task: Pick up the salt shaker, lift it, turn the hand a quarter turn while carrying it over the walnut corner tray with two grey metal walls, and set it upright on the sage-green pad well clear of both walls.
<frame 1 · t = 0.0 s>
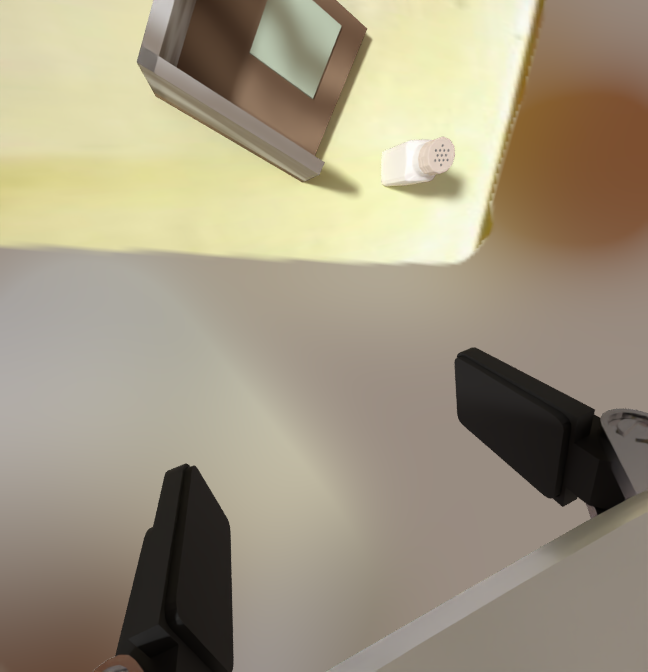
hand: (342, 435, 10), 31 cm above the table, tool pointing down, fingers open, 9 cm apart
salt shaker: (392, 168, 39), on the table
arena: (264, 63, 31), on the table
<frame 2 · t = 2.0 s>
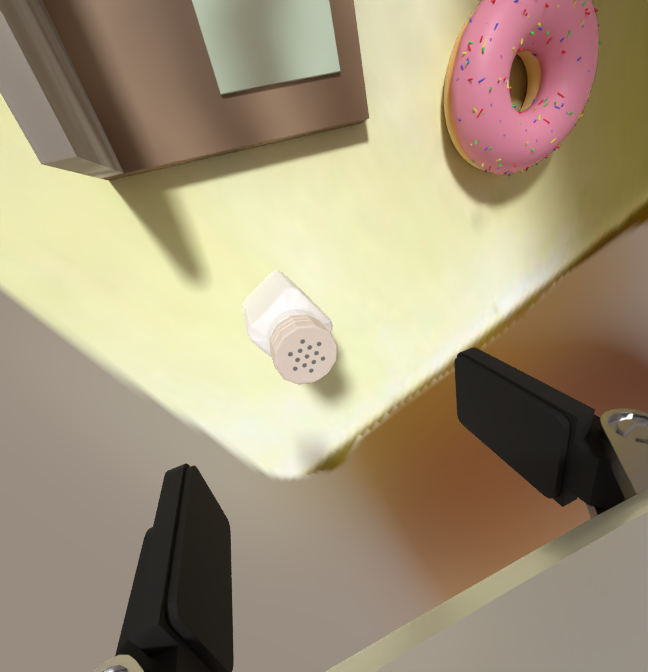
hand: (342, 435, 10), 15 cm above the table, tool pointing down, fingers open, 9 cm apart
doughnut: (493, 94, 22), on the table
salt shaker: (275, 301, 23), on the table
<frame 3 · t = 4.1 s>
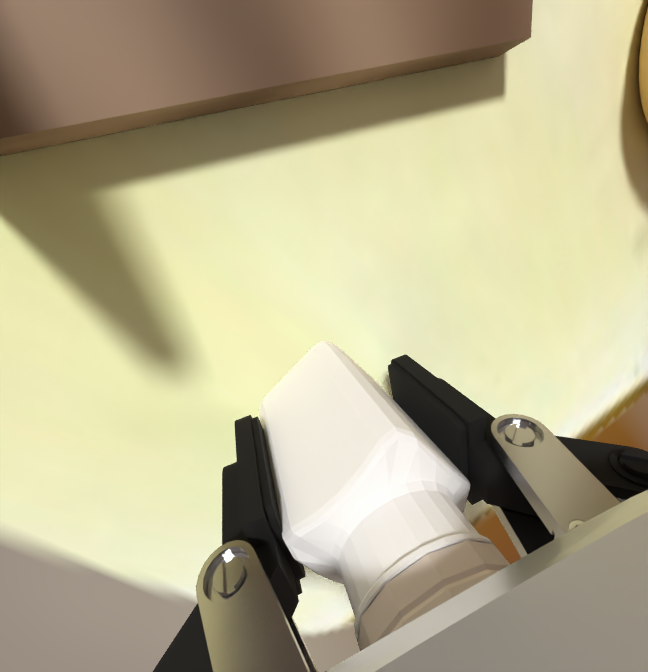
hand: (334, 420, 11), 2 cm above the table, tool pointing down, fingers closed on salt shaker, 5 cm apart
salt shaker: (317, 389, 13), on the table, touching gripper
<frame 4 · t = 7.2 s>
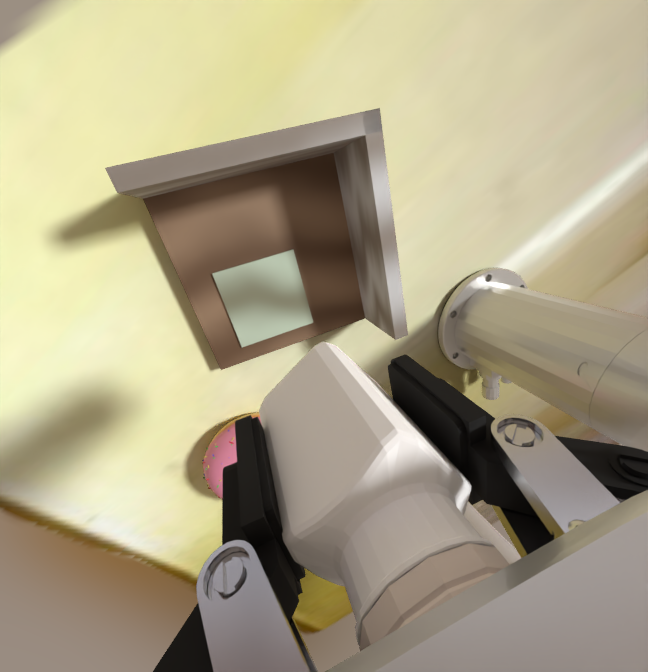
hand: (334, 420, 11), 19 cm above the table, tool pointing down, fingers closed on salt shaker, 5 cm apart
coffee cup: (439, 501, 48), on the table
doughnut: (256, 445, 34), on the table
salt shaker: (318, 390, 13), point 17 cm above the table, touching gripper
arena: (275, 258, 27), on the table
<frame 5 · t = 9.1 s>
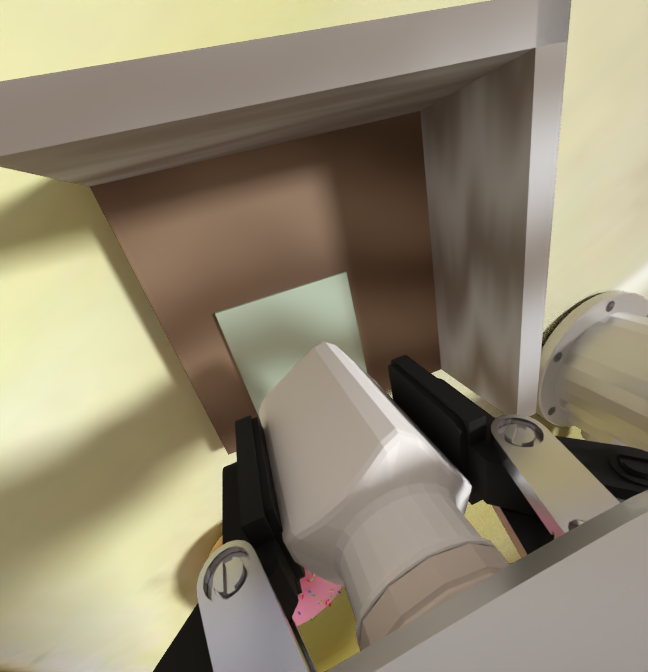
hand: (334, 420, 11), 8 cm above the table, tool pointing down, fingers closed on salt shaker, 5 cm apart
doughnut: (275, 540, 24), on the table
salt shaker: (318, 390, 13), point 6 cm above the table, touching gripper
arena: (315, 284, 17), on the table
when the fingers open (5 cm above the table, at t = 10.6 s): salt shaker drops 1 cm, resting on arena.
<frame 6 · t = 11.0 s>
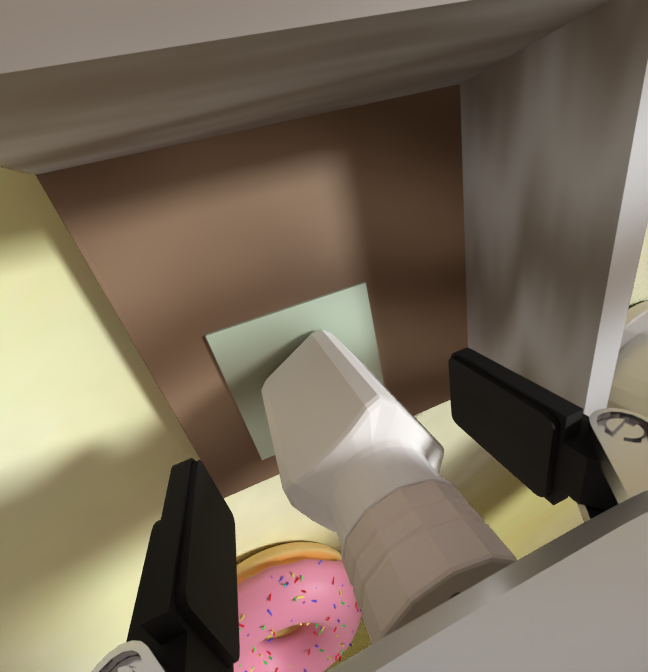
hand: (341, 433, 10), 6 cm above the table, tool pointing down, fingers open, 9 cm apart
doughnut: (277, 582, 21), on the table
salt shaker: (314, 375, 14), point 1 cm above the table, touching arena
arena: (326, 296, 14), on the table
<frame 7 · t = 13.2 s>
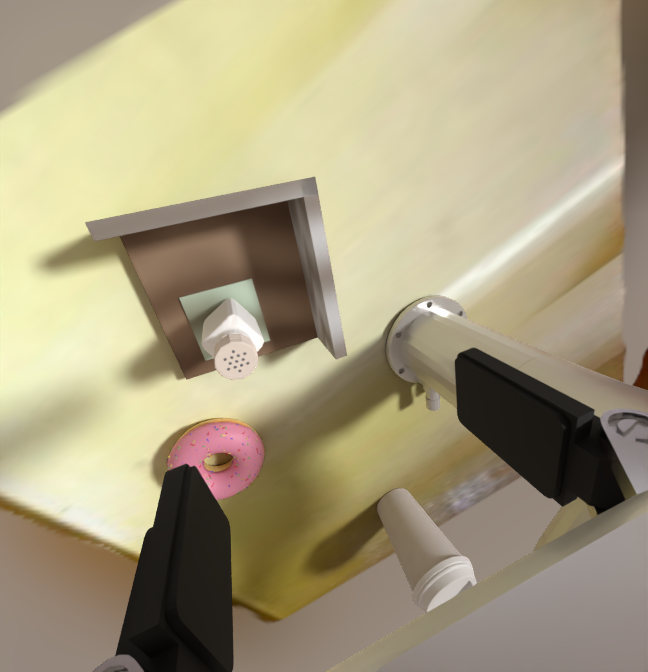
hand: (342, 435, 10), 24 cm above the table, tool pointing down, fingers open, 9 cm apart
coffee cup: (392, 501, 53), on the table
doughnut: (218, 447, 38), on the table
salt shaker: (230, 320, 31), point 1 cm above the table, touching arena
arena: (237, 284, 31), on the table
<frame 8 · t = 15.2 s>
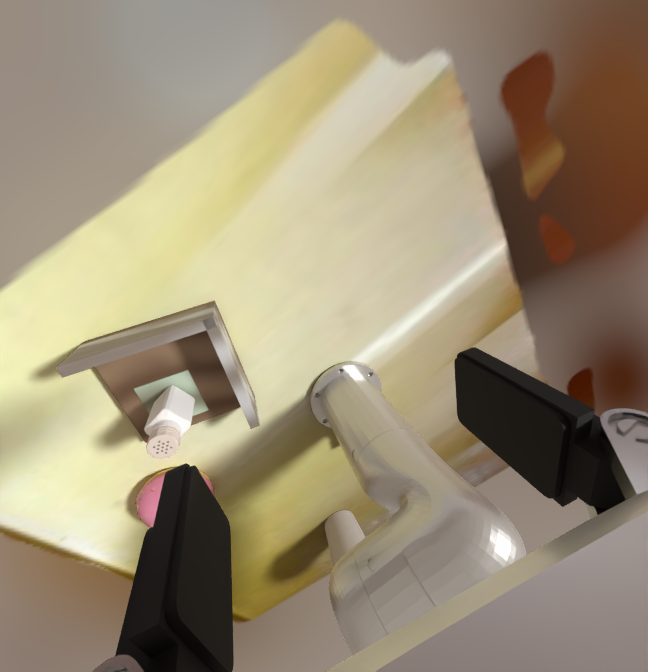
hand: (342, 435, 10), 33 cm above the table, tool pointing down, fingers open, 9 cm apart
coffee cup: (338, 520, 63), on the table
doughnut: (178, 487, 49), on the table
salt shaker: (175, 399, 41), point 1 cm above the table, touching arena
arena: (179, 372, 41), on the table
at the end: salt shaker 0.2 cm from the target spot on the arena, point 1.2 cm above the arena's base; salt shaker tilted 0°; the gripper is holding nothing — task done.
